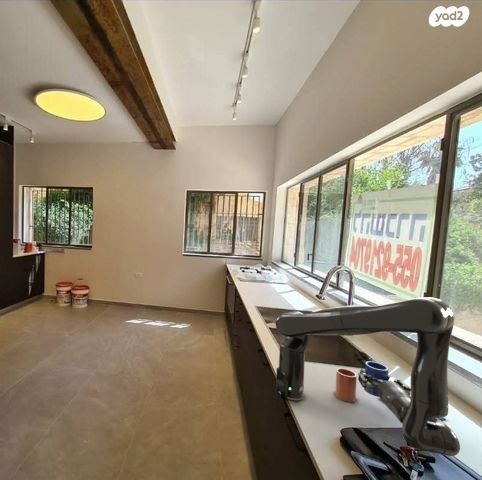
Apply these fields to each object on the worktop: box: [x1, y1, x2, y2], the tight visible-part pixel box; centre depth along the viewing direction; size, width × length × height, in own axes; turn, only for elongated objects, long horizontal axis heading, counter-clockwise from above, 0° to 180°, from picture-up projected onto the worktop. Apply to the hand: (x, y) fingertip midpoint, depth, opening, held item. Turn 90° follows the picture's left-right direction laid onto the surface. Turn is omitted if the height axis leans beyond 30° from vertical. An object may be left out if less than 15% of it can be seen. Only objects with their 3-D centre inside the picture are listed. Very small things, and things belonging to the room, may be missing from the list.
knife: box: [354, 350, 373, 365], centre depth 136 cm, size 25×6×1 cm, turn 154°
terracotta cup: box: [334, 367, 358, 403], centre depth 107 cm, size 7×7×10 cm
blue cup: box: [363, 360, 389, 398], centre depth 100 cm, size 7×7×10 cm
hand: (373, 373), depth 102 cm, fingers closed on blue cup, 6 cm apart
